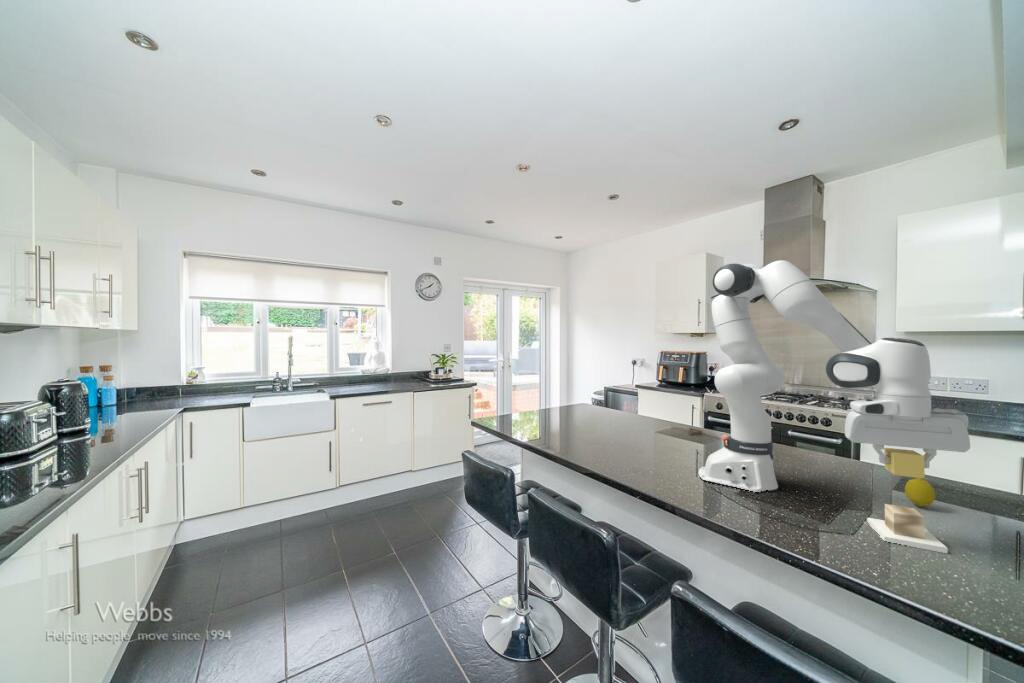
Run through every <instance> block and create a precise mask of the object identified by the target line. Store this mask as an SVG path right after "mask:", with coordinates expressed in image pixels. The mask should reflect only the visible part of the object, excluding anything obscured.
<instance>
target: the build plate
mask: <svg viewBox="0 0 1024 683" xmlns="http://www.w3.org/2000/svg"><path fill="white" fill-rule="evenodd" d="M867 522H868V523H869V524H870V525H869V524H868V523H867ZM866 523H867V524H868V525H869V526H870V528H872V529H874V530H875V531H876V532H877V533H878V534H879V535H880V536H879V535H878V534H877V533H876V532H875V531H874V530H873V531H874V532H875V533H876V534H877V535H878V536H879V537H880V539H881V538H882V539H883V540H884V541H887V542H886V543H888V542H891V543H890V544H893V543H897V544H896V545H899V544H901V546H904V545H907V546H906V547H910V546H911V547H910V548H915V547H916V548H915V549H921V550H925V551H926V550H927V551H932V552H938V553H943V554H948V551H949V550H948V547H947V546H946V545H945V544H943V542H941V541H940V540H939V538H937V537H935V536H934V535H933V534H932V533H931V532H930V531H929V530H927V529H926V528H925V539H920V538H914V537H908V536H903V535H897V534H894V533H893V532H892V531H891V530H890V529H889V528H888V527H887V526H886V525H885V519H877V518H872V517H866ZM882 539H881V540H882ZM883 540H882V541H883ZM884 541H883V542H884Z"/></svg>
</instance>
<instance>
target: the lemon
mask: <svg viewBox="0 0 1024 683" xmlns="http://www.w3.org/2000/svg"><path fill="white" fill-rule="evenodd" d="M904 493H905V496H906V498H907V499H908V500H909V501H910V502H911V503H914V504H915V505H916V506H917V507H919V508H923V507H924V506H930V505H932V504H933V503H934V502H935V499H936V491H935V489H934V488H933V486H932V484H931V483H929V482H928V481H927V480H924V479H923V478H911V479H909V480H908V481H907V482H906V483H905V486H904Z"/></svg>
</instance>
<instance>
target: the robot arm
mask: <svg viewBox="0 0 1024 683" xmlns="http://www.w3.org/2000/svg"><path fill="white" fill-rule="evenodd" d="M712 287H713V289H714V290H715V292H716V293H718V294H719V295H718V296H716V297H715V298H714V299H712V302H711V304H710V306H711V316H712V323H713V327H714V330H715V333H716V337H717V341H718V344H719V347H720V350H721V351H722V352H723V353H724V354H725V355H727V357H729V358H730V360H731V361H732V363H733V364H730V365H727V366H724V367H722V368H720V369H718V371H717V372H716V373H715V375H714V379H713V380H714V386H715V388H716V390H717V391H718V393H719V394H721V396H723V398H724V399H725V402H726V404H727V408H728V411H729V418H730V419H729V421H730V435H729V436H728V435H727V434H723V435H722V437H721V439H722V441H723V447H721V448H719V449H718V450H716V451H714V452H713V453H710V454H709V455H708V456H707V457H706V458H707V459H706V461H705V465H704V466H702V467H700V468H699V469H698V472H697V474H699V476H700V477H701V478H702V479H703V480H706V481H711V482H715V483H720V484H724V485H728V486H733V487H737V488H741V489H745V490H749V491H748V492H750V491H753V492H752V493H755V492H759V493H761V491H762V492H765V491H766V490H768V491H774V490H777V489H778V488H779V485H778V481H777V478H776V474H775V470H774V465H773V464H774V462H773V459H774V458H775V457H774V453H775V452H774V442H773V441H772V418H771V416H770V414H769V413H768V412H766V410H765V408H764V406H763V403H762V399H761V398H762V396H770V395H773V394H775V393H777V392H779V391H780V390H781V389H782V388H783V387H784V385H785V382H786V377H785V374H784V372H783V370H782V369H781V368H780V367H778V366H777V365H776V364H774V362H773V361H772V360H771V358H770V357H769V356H768V354H767V352H766V351H765V350H764V348H763V346H762V344H761V343H760V340H759V338H758V335H757V332H756V330H755V325H754V323H753V320H752V317H751V315H750V311H749V304H750V303H752V304H755V303H757V302H758V301H759V300H761V299H762V298H764V297H766V298H767V300H768V301H769V302H770V304H771V305H772V307H773V308H774V309H775V310H776V311H777V312H778V313H779V314H780V315H781V316H782V317H783V318H785V319H786V320H787V321H788V322H789V321H790V322H792V323H795V324H798V325H803V326H806V327H808V328H811V329H814V330H816V331H818V332H820V333H821V334H823V335H824V336H825V337H826V338H827V339H828V340H829V341H830V343H832V344H833V345H834V346H835V348H837V349H838V350H839V351H840V352H841V353H837V354H835V355H833V356H831V357H830V358H829V359H828V360H827V363H826V365H825V373H826V375H827V378H828V379H829V380H830V381H831V383H832V384H834V385H836V386H837V387H840V388H845V389H851V390H854V389H855V390H856V389H869V388H870V389H871V388H872V389H874V390H875V396H872V397H868V398H862V399H857V400H852V401H850V402H849V407H850V409H852V410H851V411H849V412H848V413H847V415H846V417H845V422H844V423H845V425H844V436H845V437H846V438H847V440H849V441H850V442H852V443H855V444H857V443H858V444H866V445H867V444H869V445H872V448H873V449H874V451H875V452H876V453H877V454H878V461H879V463H881V464H883V465H884V464H891V462H890V460H891V457H889V456H888V455H884V451H882V450H884V448H885V446H891V447H899V448H912V449H914V448H915V449H922V451H923V452H924V454H923V456H924V469H930V462H931V461H932V460H933V459H934V458H935V457H936V456H937V453H938V452H937V451H944V452H956V453H957V452H958V453H966V452H968V451H969V450H970V449H971V441H970V440H971V439H970V434H969V431H968V427H969V417H968V415H967V414H966V413H965V412H962V411H959V410H958V409H955V408H954V409H953V408H952V409H951V408H949V409H948V408H939V407H938V408H937V407H936V408H935V407H932V394H931V391H930V389H929V382H930V381H931V377H932V376H931V373H932V372H931V370H932V369H931V360H930V354H929V351H928V348H927V346H926V345H925V344H923V343H922V342H920V341H918V340H915V339H914V340H913V339H910V338H909V339H908V338H897V337H883V338H879V339H878V340H877V341H875V342H873V343H872V342H870V341H869V340H868V338H867V337H865V336H864V334H862V332H860V331H859V330H858V329H857V328H856V327H855V326H854V325H853V323H851V322H850V320H848V319H847V318H846V317H845V316H844V315H843V314H841V313H840V311H839V310H838V309H837V308H836V307H835V306H834V305H833V304H832V303H831V302H830V301H829V300H828V298H827V297H826V296H825V295H824V294H823V293H822V292H821V290H820V289H819V288H818V287H817V286H816V284H815V283H814V282H813V281H812V280H811V279H810V278H809V277H808V276H807V275H806V273H804V272H803V271H802V270H801V269H800V268H798V267H797V266H796V265H795V264H793V263H792V262H790V261H788V260H783V259H781V260H780V259H779V260H775V261H772V262H770V263H768V264H767V265H759V264H754V263H753V264H752V263H728V264H725V265H723V266H720V267H719V268H718V269H717V270H716V271H715V272H714V274H713V277H712ZM699 476H698V477H699ZM745 490H744V491H745Z"/></svg>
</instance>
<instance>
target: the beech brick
mask: <svg viewBox="0 0 1024 683" xmlns="http://www.w3.org/2000/svg"><path fill="white" fill-rule="evenodd" d="M925 518H926V517H925V516H924V515H923V514H921V513H920V512H919V511H917V509H915V508H914V507H909V506H908V507H907V506H902V505H896V504H889V503H888V504H887V503H884V520H885V525H886V526H887V527H888V528H889V529H890V530H891V531H892V532H893V533H894V534H897V535H903V536H908V537H914V538H920V539H925V529H926V527H925V524H926V523H925V520H926V519H925Z"/></svg>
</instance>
